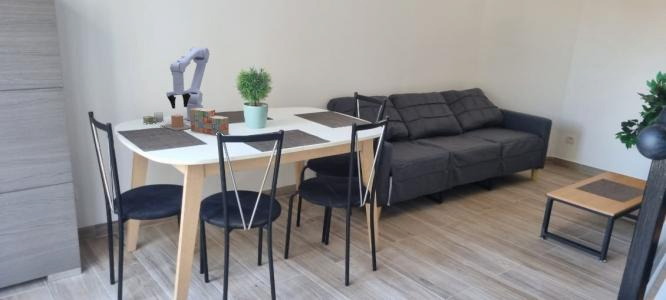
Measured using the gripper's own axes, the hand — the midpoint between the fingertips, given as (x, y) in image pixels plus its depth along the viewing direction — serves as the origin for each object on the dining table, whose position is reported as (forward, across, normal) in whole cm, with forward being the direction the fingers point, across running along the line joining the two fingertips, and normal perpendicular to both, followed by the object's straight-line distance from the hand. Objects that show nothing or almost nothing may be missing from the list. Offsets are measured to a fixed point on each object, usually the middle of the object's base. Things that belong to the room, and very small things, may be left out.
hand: (179, 107), depth 274 cm
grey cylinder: (+10, +5, -14) cm, 18 cm away
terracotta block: (+9, +6, +7) cm, 13 cm away
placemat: (+9, +6, +7) cm, 13 cm away
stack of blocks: (+10, +1, +30) cm, 31 cm away
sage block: (+10, +12, -12) cm, 19 cm away
